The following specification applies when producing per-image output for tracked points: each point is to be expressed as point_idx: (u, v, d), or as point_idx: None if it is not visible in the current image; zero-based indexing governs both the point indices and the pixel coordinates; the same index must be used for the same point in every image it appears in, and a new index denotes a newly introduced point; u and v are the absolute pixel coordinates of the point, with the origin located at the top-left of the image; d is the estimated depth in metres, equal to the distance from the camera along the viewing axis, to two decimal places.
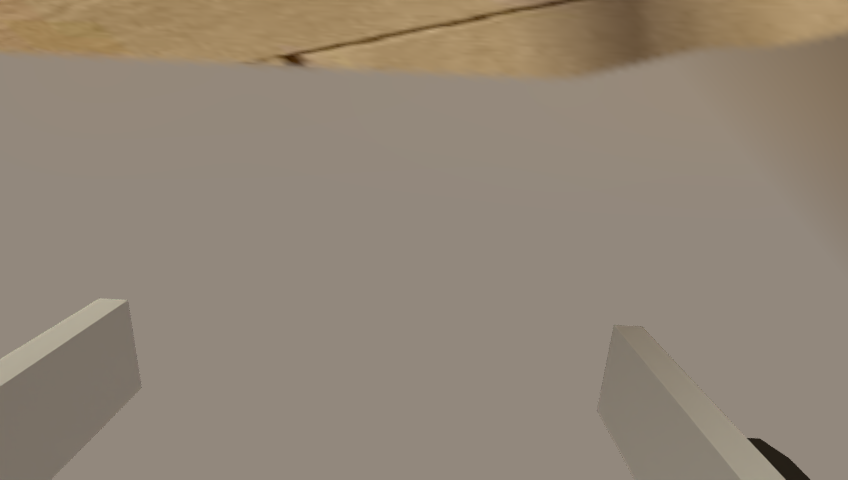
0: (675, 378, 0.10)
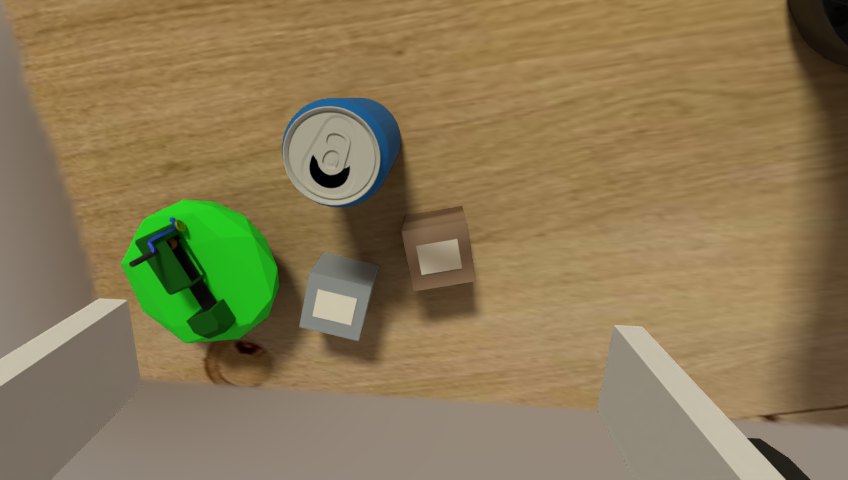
0: (675, 378, 0.10)
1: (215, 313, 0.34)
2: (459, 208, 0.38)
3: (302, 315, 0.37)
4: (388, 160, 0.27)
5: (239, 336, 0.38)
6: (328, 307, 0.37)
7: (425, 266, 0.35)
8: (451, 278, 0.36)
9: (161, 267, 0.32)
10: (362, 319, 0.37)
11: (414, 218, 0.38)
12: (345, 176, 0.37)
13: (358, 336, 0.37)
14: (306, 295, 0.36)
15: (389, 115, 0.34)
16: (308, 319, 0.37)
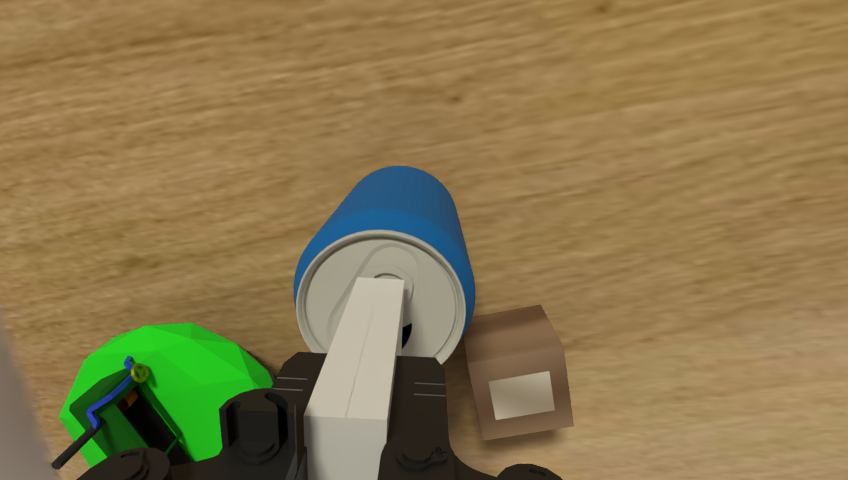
0: (387, 313, 0.12)
1: None
2: (538, 310, 0.27)
3: None
4: (473, 304, 0.16)
5: None
6: None
7: (501, 409, 0.24)
8: (538, 423, 0.25)
9: (110, 442, 0.21)
10: None
11: (477, 328, 0.27)
12: None
13: None
14: None
15: (446, 195, 0.23)
16: None
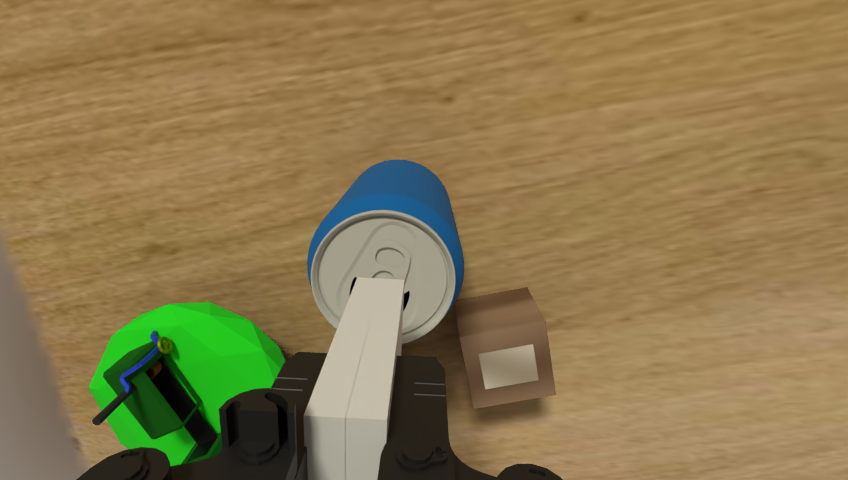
0: (387, 313, 0.12)
1: None
2: (525, 292, 0.30)
3: None
4: (462, 276, 0.19)
5: None
6: None
7: (490, 379, 0.27)
8: (523, 392, 0.27)
9: (140, 406, 0.24)
10: None
11: (468, 308, 0.29)
12: None
13: None
14: None
15: (440, 185, 0.26)
16: None
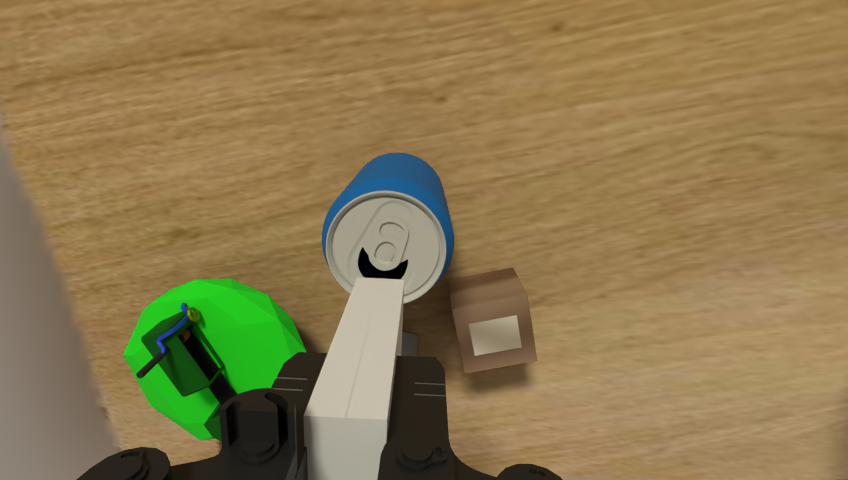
0: (387, 313, 0.12)
1: None
2: (511, 271, 0.33)
3: None
4: (452, 247, 0.22)
5: None
6: None
7: (479, 346, 0.31)
8: (508, 358, 0.31)
9: (173, 367, 0.27)
10: None
11: (460, 285, 0.33)
12: None
13: None
14: None
15: (434, 175, 0.29)
16: None
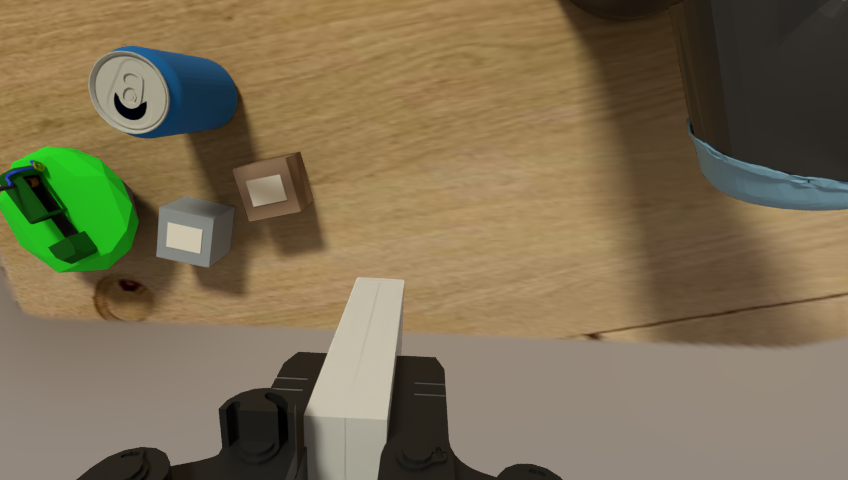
0: (387, 313, 0.12)
1: (72, 240, 0.40)
2: (295, 153, 0.45)
3: (158, 246, 0.43)
4: (182, 96, 0.33)
5: (106, 266, 0.44)
6: (179, 238, 0.43)
7: (256, 199, 0.42)
8: (279, 209, 0.42)
9: (20, 199, 0.38)
10: (209, 248, 0.43)
11: (255, 161, 0.44)
12: None
13: (208, 263, 0.44)
14: (159, 228, 0.43)
15: (216, 70, 0.40)
16: (163, 249, 0.43)
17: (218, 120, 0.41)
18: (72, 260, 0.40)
